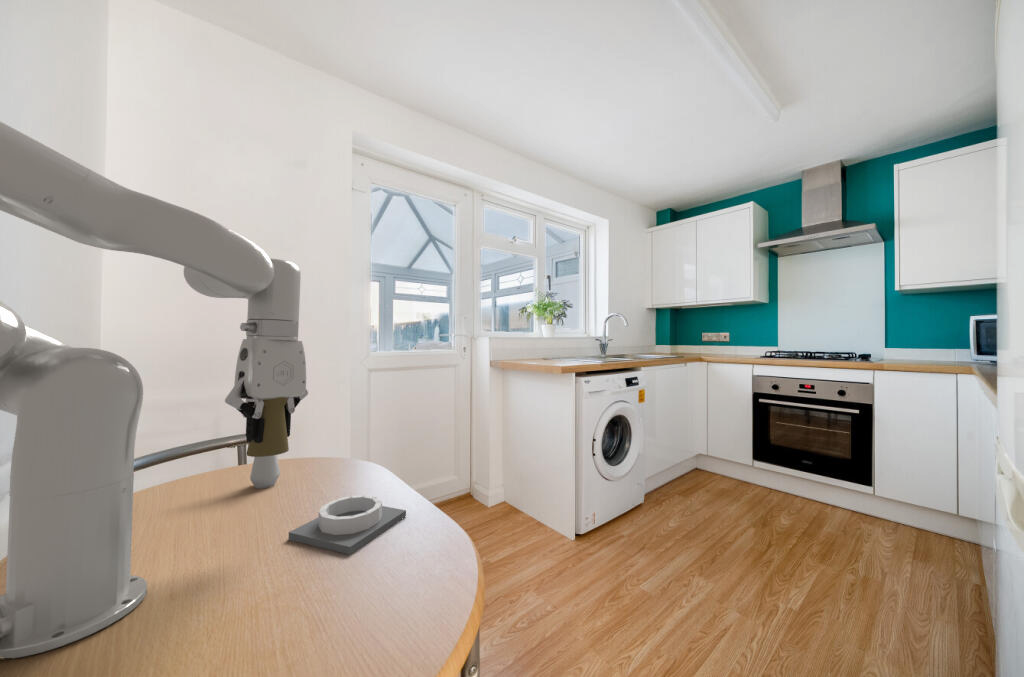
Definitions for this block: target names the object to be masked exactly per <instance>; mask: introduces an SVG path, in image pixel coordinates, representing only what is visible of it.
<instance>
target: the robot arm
mask: <svg viewBox="0 0 1024 677" xmlns="http://www.w3.org/2000/svg"><path fill="white" fill-rule="evenodd" d="M0 211H1V212H4V213H6V214H9V215H11V216H14V217H16V218H18V219H20V220H24V221H26V222H27V223H28V222H29V223H31V224H33V225H36V226H38V227H41V228H42V229H44V230H47V231H49V232H53V233H55V234H57V235H59V236H62V237H65V238H66V239H69V240H71V241H74V242H76V243H79V244H82V245H86V246H89V247H94V248H98V249H99V248H100V249H103V250H109V251H115V252H124V253H125V252H126V253H134V254H140V255H146V256H150V257H154V258H157V259H162V260H164V261H169V262H172V263H174V264H177V265H181V266H183V276H184V277H183V278H184V279H185V281H186V284H188V286H189V287H190V288H192V290H194V291H195V292H197V293H199V294H201V295H202V296H203V295H204V296H206V297H209V298H210V297H211V298H216V299H246V300H247V315H246V316H247V318H246V322H241V323H240V325H239V326H240V327H239V328H240V331H242V332H245V335H246V337H245V338H243V339H242V341H241V345H240V347H239V350H238V355H237V360H236V367H235V371H234V372H235V373H234V385H233V388H231V390H230V391H229V393H228V395H227V396H226V397H225V399H224V403H225V404H227V405H229V406H230V407H233V408H235V409H236V410H237V411H238V412H239V413H240V414H241V415H242V417H243V418H245V419H246V421H245V422H246V424H245V437H246V439H245V440H246V442H247V443H249V442H251V441H252V439H253V440H254V442H255V443H261V442H262V441H263V433H264V421H265V420H264V418H261V414H262V410H263V405H264V400H267V399H276V398H280V397H285V398H286V397H288V401H287V403H286V404H285V405H284V410H285V419H286V428H287V438H288V437H290V435H291V423H292V422H291V419H292V414H294V413H295V412H296V407H297V406H298V405H299V404H300V402H301V401H302V400H303V399H305V398H306V397H307V396H308V394H309V391H308V389H307V365H306V364H307V363H306V352H305V348H304V344H303V340H299V322H300V301H301V298H300V297H301V269H300V267H299V266H298V265H297V264H296V263H294V262H292V261H288V260H285V259H284V260H283V259H278V258H270V257H269V255H268V254H267V253H266V251H264V249H262V248H261V247H260V246H258V245H257V244H256V243H254V242H253V241H251V240H249V239H248V238H246V237H244V236H242V235H241V234H239V233H238V232H235V231H234V230H232V229H230V228H228V227H226V226H225V225H223V224H221V223H219V222H217V221H216V220H214V219H211V218H210V217H207V216H204V215H202V214H200V213H198V212H195V211H193V210H190V209H187V208H186V207H185V208H184V207H181V206H178V205H176V204H173V203H170V202H167V201H165V200H161V199H159V198H157V197H154V196H151V195H148V194H145V193H142V192H138V191H136V190H132V189H130V188H127V187H125V186H124V185H121V184H119V183H117V182H114V181H113V180H111V179H109V178H107V177H106V176H103V175H102V174H99V173H98V172H96V171H94V170H92V169H90V168H89V167H86V166H85V165H83V164H81V163H79V162H77V161H76V160H73V159H71V158H70V157H68V156H66V155H63V154H62V153H60V152H59V151H57V150H55V149H52V148H50V147H49V146H47V145H45V144H44V143H41V142H39V141H37V140H36V139H33V138H32V137H30V136H29V135H27V134H25V133H23V132H21V131H19V130H17V129H16V128H13V127H12V126H9V125H8V124H6V123H4V122H2V121H0ZM143 399H144V386H143V381H142V378H141V375H140V374H139V371H138V370H137V369H136V367H134V366H133V364H132V363H130V361H129V360H127V359H125V358H124V357H122V356H120V355H118V354H116V353H113V352H112V351H108V350H104V349H99V348H92V347H72V346H70V345H68V344H65V343H64V342H62V341H59V340H57V339H55V338H53V337H51V336H50V335H47V334H46V333H43V332H41V331H39V330H37V329H34V327H33V328H32V327H31V326H28V325H27V324H24V322H23V320H22V318H21V317H20V315H18V314H17V312H15V311H14V310H13V309H12V308H11V307H10V306H8V305H7V304H5V303H3V302H2V301H0V411H3V412H5V413H9V414H11V415H14V416H16V426H15V433H14V442H13V447H12V454H11V462H10V474H9V506H8V507H9V508H8V510H9V512H8V530H7V531H8V532H7V534H8V536H7V554H6V557H7V558H6V577H5V593H3V594H1V595H0V657H1V658H2V657H3V658H12V659H16V658H24V657H29V656H32V655H36V654H41V653H45V652H48V651H50V650H54V649H58V648H61V647H63V646H66V645H69V644H71V643H74V642H76V641H78V640H81V639H83V638H86V637H88V636H91V635H92V634H95V633H97V632H98V631H101V630H102V629H104V628H106V627H109V626H110V625H112V624H113V623H115V622H117V621H119V620H120V619H122V618H123V617H124V616H126V615H127V614H129V613H131V611H133V610H134V609H135V608H136V607H138V605H140V603H141V602H142V601H143V600H144V598H145V597H146V595H147V590H148V589H147V588H148V582H147V581H146V579H144V578H143V577H141V576H137V575H133V574H131V571H132V570H131V568H132V565H131V564H132V540H133V539H132V536H133V534H132V533H133V510H134V509H133V508H134V506H133V505H134V482H135V477H134V476H135V472H134V471H135V470H134V469H135V468H134V466H135V449H136V437H137V431H138V424H139V419H140V415H141V411H142V405H143ZM244 400H245V401H244ZM253 402H255V404H253Z"/></svg>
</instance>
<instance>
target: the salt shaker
mask: <svg viewBox="0 0 1024 677" xmlns="http://www.w3.org/2000/svg"><path fill="white" fill-rule="evenodd" d="M253 458H254V459H253V464H252V466H251V471H250V477H249V479H250V480H249V481H250V482H251V483H252V484H253V487H254V488H255V489H267V488H271V487H274V485H275V484H276V483H277V480H278V479H279V477H280V474H281V471H280V470H281V469H280V464H279V459H278V455H273V456H264V457H253Z"/></svg>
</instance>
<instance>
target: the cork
mask: <svg viewBox="0 0 1024 677" xmlns="http://www.w3.org/2000/svg"><path fill="white" fill-rule="evenodd" d="M287 401H288V397H286V398H285V397H280V398H276V399H267V400H264V405H263V410H262V414H261V418H264V420H265V421H264V433H263V441H262V442H261V443H255V442H254V440H253V439H252V441H251V442H248V444H247V445H248V446H247V450H246V456H248V457H252V458H254V457H264V456H273V455H277V456H278V455H281V454H285V453H287V452H289V451H290V449H289V440H288V439H289V438H288V437H287V428H286V419H285V410H284V405H285V404H286V403H287ZM253 404H255V402H253Z"/></svg>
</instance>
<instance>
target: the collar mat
mask: <svg viewBox="0 0 1024 677" xmlns="http://www.w3.org/2000/svg"><path fill="white" fill-rule="evenodd" d="M405 516H406V517H407V510H406V509H401V508H396V507H392V506H391V507H390V506H384V505H383V501H382V500H381V499H380V498H379V497H377V496H373V495H368V494H367V495H366V494H361V495H360V494H358V495H350V496H349V495H348V496H344V497H340V498H335V499H334V500H330V502H327V503H325V504H324V505H323V506H322V507H320V509H319V510H318V516H317V517H316V518H314V519H313V520H310V521H308V522H306V523H304V524H302V525H301V526H298V527H295V528H294V529H292V530H290V531H288V540H289V541H292V542H297V543H300V544H304V545H309V546H311V547H312V546H313V547H317V548H320V549H325V550H328V551H333V552H335V553H337V552H338V553H341V554H345V555H352V554H353V553H355V552H357V551H358V550H360V549H361V548H362V547H364V546H366V545H367V544H368V543H370V542H371V541H373V540H374V539H376V538H377V537H378V536H380V535H382V534H383V533H384V532H385V531H388V530H389V529H390V528H391V526H392V527H393V526H395V525H396V524H397V522H398V521H399V522H400V521H402V520H403V519H405V518H406V517H405ZM404 517H405V518H404ZM402 518H403V519H402ZM401 519H402V520H401ZM399 522H398V523H399ZM394 524H395V525H394Z"/></svg>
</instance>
